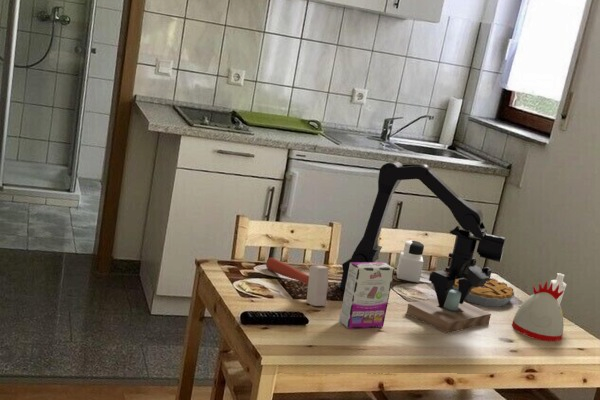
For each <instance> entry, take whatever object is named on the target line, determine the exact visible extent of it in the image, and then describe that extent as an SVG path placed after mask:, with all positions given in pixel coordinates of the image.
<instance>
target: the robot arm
mask: <svg viewBox="0 0 600 400" xmlns="http://www.w3.org/2000/svg"><path fill="white" fill-rule="evenodd" d="M378 172H379V173H378V179H377V194H376V197H375V199H374V203H373V206H372V209H371V212H370V215H369V218H368V221H367V224H366V227H365V231H364V234H363V237H362V238H361V240H360V241H359V243H358V244H357V245H356V247H355V249H354V251H353V253H352V255H351V257H350V258H349V259H347V260H346V261H345V262H343V263H342V264H341V268H342V275H341V281H340V284H336V286H335V287H336V288H337V289H340V290H341V291H343V292H345V287H346V281H347V276H348V270H349V265H350V262H377V261H378V260H379V257H380V256H379V255H380V252H381V251H382V249H383V246H382V245H379V242H378V241H379V236H380V233H381V230H382V227H383V225H384V221H385V219H386V215H387V212H388V209H389V207H390V203H391V200H392V198H393V194H394V193H395V191H396V190H397V188H398V187H399V185H400V183H401V181H407V180H419V182H421V183H422V184H423V185H425V187H426V188H427V189H428V190H429V191H431V192H432V193H433V195H435V196H436V198H437V199H439V200H440V201H441V202H442V203H443V204H444V205H445V206H446V207H447V208H448V209H449V211H450V212H451V213H452V215H453V217H454V219H455V220H456V222H457V223H458V225H456V226H455V227H454V228H451V230H450V231H449V234H451V235H453V236H454V235H455V241H454V244H453V249H452V252H449V253H448V257H449V258H450V261H449V265H448V266H446V267H445V268H444V270H442V269H441V270H440V269H439V270H433V271H431V272H430V273H429V276H428V281H429V282H430V283H431V284H432V285H433V287H434V288H433V289H434V291H435V294H436V298H437V299H438V304H439V307H441V308H443V306H444V304H445V301H446V298H447V295H448V292H449V291H450V290H452V289H453V288H454V287H453V285H454V284H455V280H458V291H459V292H461V297H460V302H459V303H460V304H463V302H466V300H465V299H466V297H467V296H468V294H469V292H470V291H471V289H472V288H473V287H476V288H477V287H480V286H482V287H483V286H484V284H485V283H486V281H490V278H491V275H492V269H491V268H490V267H488V266H487V267H483V268H482V266H481V267H479V266H477V258H475V257H474V254H475V251H476V253H477V255H479V257H480V258H482V259H487V260H491V261H493V262H498V263H501V261H502V258H503V255H504V251H505V244H506V243H505V242H506V237H505V236H502V235H501V236H497V235H494V234H489V233H488V231H487V230H488V229H486V226H485V224H484V222H483V221H484V214H483V211H482V210H480V208H479V207H477V206H475V205H474V204H472V203H471V202H469V201H467V200H466V199H463V198H462V197H461V196H459V195H458V194H457V193H456V192H455V191H454V190H453V189H452V188H451V187H450V186H449V185H447V183H445V182H444V180H443V179H441V178H440V177H439V176H438V174H436V173H435V172H434V171H433V170H432V169H431V167H430V166H429V165H428V164H426V163H421V164H410V163H408V164H407V163H405V164H404V163H403V164H402V162H399V161H396V160H391V161H390V162H386V163H384V164H383V165H382V166H381V167H380V168H379V171H378ZM477 243H478V244H477ZM476 246H477V247H476ZM476 248H477V249H476Z"/></svg>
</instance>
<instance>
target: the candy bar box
mask: <svg viewBox="0 0 600 400" xmlns="http://www.w3.org/2000/svg"><path fill="white" fill-rule="evenodd" d="M394 273H395V267H393V266H392V265H390V264H389V263H387V262H382V261H381V262H377V261H375V262H350V265H349V270H348V276H347V281H346V287H345V291H343V292H344V294H343V299H342V302H341V303H342V304H341V308H340V315H339V320H338V322H340V324H341V325H343V326H344V327H345V328H346V329H350V330H351V329H370V328H371V329H372V328H373V329H374V328H384V325H385V321H386V320H385V319H386V314H387V308H388V304H389V299H390V293H391V289H392V283H393V278H394V275H395V274H394Z"/></svg>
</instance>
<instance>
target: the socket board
mask: <svg viewBox="0 0 600 400" xmlns="http://www.w3.org/2000/svg"><path fill="white" fill-rule="evenodd" d="M408 314H409V315H408ZM406 315H408V316H411V317H412V316H413V317H412V318H415V319H416V318H417V320H418V321H421V322H423V323H425V324H427V325H429V326H431V327H433V328H435V329H437V330H439V331H440V332H443V333H444V334H451V333H454V332H455V333H456V332H459V331H464V330H467V329H472V328H476V327H481V326H485V325H488V324H489V323H490V319H491V316H492V313H490V312H488V311H485V310H483V309H481V308H479V307H477V306H475V305H472V304H471V303H468V302H466V301H464V302H463V304H460V303H459V306H458V311H456V312H455V313H453V314H452V313H450V312H448V311H446V310H444V308H441V307H439V304H438V299H437V297H436V298H433V299H432V298H431V299H425V300H420V301H414V302H409V303H408V305H407V308H406Z"/></svg>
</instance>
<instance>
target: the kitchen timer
mask: <svg viewBox="0 0 600 400" xmlns="http://www.w3.org/2000/svg"><path fill="white" fill-rule="evenodd" d="M552 286H553V284H552V283H551V285H550V284H549V288H548V280H546V281H545V283H544V285H543V287H542V285H541V282H539V284H538V290H537V289H536V286H535V285H533V286H532V288H533V289H532V290H533V294H531V295H530V296H527V298H526V299H524V301H523V302H522V303H521V305H520V306H519V308H518V309H517V311H516V313H515V314H514V317H513V320H512V324H511V326H512V327H513V329H514V330H515V329H516V332H518V333H520V334H523V335H524V336H527V337H529V338H532V339H535V340H539V341H544V342H559V341H561V340H562V338H563V335H564V315H565V313H564V311H563V309H562V306H561V303H560V304H559V302H558V301H557V299H558V297H559V296H560V295H561V294H562V293H563V291H564V290H563V291H561V292H560V293H559V292H558V289H559V285H558V286H557V287H556V289H555V290H554V291H553V290H552ZM564 292H565V291H564Z"/></svg>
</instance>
